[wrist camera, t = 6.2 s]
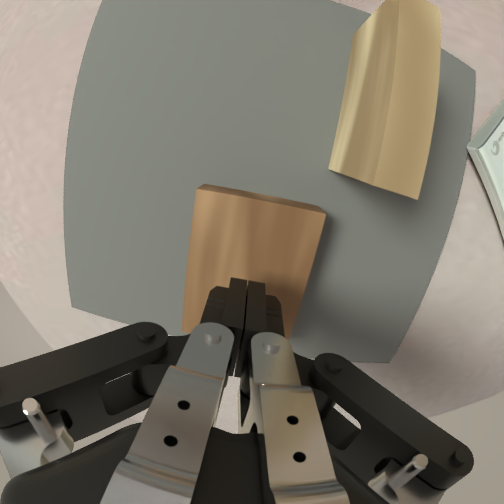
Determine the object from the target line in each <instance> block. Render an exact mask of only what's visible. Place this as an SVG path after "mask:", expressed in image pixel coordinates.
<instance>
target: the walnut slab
mask: <svg viewBox="0 0 504 504" xmlns="http://www.w3.org/2000/svg"><path fill="white" fill-rule="evenodd" d="M325 217H326V213H325V212H324V211H323V210H322V209H321V208H320V207H319V206H317V205H312V204H308V203H303V202H298V201H294V200H289V199H284V198H279V197H275V196H270V195H264V194H259V193H254V192H249V191H243V190H238V189H232V188H227V187H221V186H215V185H209V184H203V185H201V186H200V187H198V188H197V189H196V195H195V202H194V210H193V217H192V225H191V233H190V242H189V250H188V260H187V269H186V280H185V291H184V303H183V316H182V332H187V333H191V332H192V330H193V329H194V327H196V326H197V325H199V324H200V321H201V317H202V314H203V311H204V308H205V305H206V302H207V299H208V295H209V292H210V290H212V289H213V288H214V287H216V286H221V287H226V288H229V284H230V279H231V277H234V278H239V279H245V280H247V285H248V281H249V280H251V281H256V282H262V283H265V287H266V295H272V296H276V298H277V299H278V300H279V301H280V303H281V308H282V316H283V317H282V318H283V325H284V333H285V338H286V339H287V340H289V337H290V334H291V331H292V328H293V325H294V322H295V319H296V316H297V313H298V310H299V307H300V304H301V301H302V297H303V294H304V291H305V288H306V284H307V281H308V278H309V274H310V271H311V268H312V264H313V261H314V257H315V254H316V250H317V247H318V243H319V239H320V236H321V232H322V228H323V225H324V221H325Z"/></svg>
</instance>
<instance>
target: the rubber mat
mask: <svg viewBox="0 0 504 504" xmlns="http://www.w3.org/2000/svg"><path fill="white" fill-rule="evenodd" d="M370 16H371V14H369V13H366V12H364V11H361V10H358V9H355V8H352V7H349V6H346V5H343V4H340V3H336V2H333V1H330V0H102V2H101V5H100V7H99V10H98V13H97V15H96V18H95V21H94V23H93V26H92V29H91V32H90V35H89V38H88V42H87V45H86V48H85V52H84V55H83V59H82V63H81V67H80V71H79V75H78V79H77V83H76V88H75V93H74V98H73V104H72V109H71V116H70V122H69V129H68V138H67V147H66V158H65V172H64V240H65V255H66V266H67V276H68V284H69V292H70V298H71V305H72V307H74V308H77V309H80V310H83V311H86V312H89V313H92V314H95V315H98V316H102V317H105V318H108V319H112V320H115V321H119V322H122V323H126V324H129V325H132V324H135V323H138V322H153V323H156V324H158V325H160V326H162V327H163V328H164V329H165V330H166V332H167V334H169V335H173V336H183V335H188V334H190V333H187V332H182V316H183V303H184V291H185V280H186V269H187V260H188V250H189V242H190V233H191V225H192V217H193V210H194V202H195V195H196V189H197V188H198V187H200V186H201V185H203V184H209V185H215V186H221V187H227V188H232V189H238V190H243V191H249V192H254V193H259V194H264V195H270V196H275V197H279V198H284V199H289V200H294V201H298V202H303V203H308V204H312V205H317V206H319V207H320V208H321V209H322V210H323V211H324V212H325V213H326V217H325V221H324V225H323V228H322V232H321V236H320V239H319V243H318V247H317V250H316V254H315V257H314V261H313V264H312V268H311V271H310V274H309V278H308V281H307V284H306V288H305V291H304V294H303V297H302V301H301V304H300V307H299V310H298V313H297V316H296V319H295V322H294V325H293V328H292V331H291V334H290V337H289V340H288V341H289V342H290V344H291V346H292V349H293V352H295V353H296V354H298V355H300V356H303V357H306V358H316V357H317V356H318V355H320V354H322V353H334V354H338V355H340V356H342V357H344V358H345V359H347V360H348V361H353V362H374V363H389V362H390V361H391V359H392V357H393V355H394V354H395V352H396V350H397V348H398V347H399V345H400V343H401V341H402V339H403V337H404V335H405V334H406V332H407V330H408V328H409V326H410V324H411V322H412V320H413V318H414V316H415V314H416V311H417V309H418V307H419V305H420V303H421V301H422V299H423V296H424V294H425V292H426V289H427V287H428V285H429V282H430V280H431V278H432V275H433V273H434V270H435V268H436V265H437V262H438V260H439V257H440V254H441V251H442V249H443V246H444V243H445V240H446V237H447V234H448V231H449V228H450V224H451V221H452V218H453V214H454V211H455V207H456V204H457V200H458V196H459V192H460V188H461V184H462V179H463V175H464V170H465V165H466V160H467V154H468V150H467V145H468V143H469V142H470V135H471V128H472V120H473V110H474V97H475V70H474V69H472V68H471V67H469V66H468V65H466V64H465V63H464V62H462V61H461V60H459V59H458V58H456V57H454V56H453V55H451V54H450V53H448V52H446V51H445V50H443V49H441V55H440V74H439V87H438V97H437V105H436V113H435V120H434V127H433V133H432V139H431V144H430V149H429V154H428V159H427V164H426V169H425V173H424V177H423V182H422V186H421V190H420V193H419V197H418V200H416V199H413V198H410V197H408V196H405V195H402V194H399V193H396V192H392V191H389V190H386V189H383V188H380V187H376V186H373V185H371V184H368V183H365V182H363V181H360V180H357V179H355V178H352V177H349V176H346V175H344V174H341V173H338V172H335V171H332V170H329V169H328V168H329V164H330V159H331V155H332V150H333V145H334V141H335V136H336V131H337V126H338V121H339V116H340V111H341V105H342V100H343V95H344V89H345V83H346V77H347V71H348V65H349V59H350V52H351V46H352V39H353V34H354V33H355V32H356V31H357V30H358V29H359V28H360V27H361V26H362V24H363V23H364V22H365V21H366V20H367V19H368V18H369V17H370Z"/></svg>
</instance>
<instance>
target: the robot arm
mask: <svg viewBox="0 0 504 504" xmlns="http://www.w3.org/2000/svg"><path fill="white" fill-rule="evenodd" d="M282 317H283V316H282V308H281V303H280V301H279V300H278V299H277V298H276V296H272V295H266V287H265V283H262V282H256V281H251V280H249V281H248V285H247V280H245V279H239V278H234V277H231V279H230V284H229V288H226V287H221V286H216V287H214V288H213V289H212V290H210V292H209V295H208V299H207V302H206V305H205V308H204V311H203V314H202V317H201V321H200V324H199V325H197V326H196V327H194V329H193V330H192V332H191V333H190V334H188V335H183V336H168V334H167V332H166V330H165V329H164V328H163V327H162V326H160V325H158V324H156V323H153V322H138V323H135V324H132V325H129V326H126V327H123V328H120V329H117V330H115V331H112V332H109V333H106V334H103V335H100V336H97V337H94V338H91V339H88V340H85V341H82V342H79V343H76V344H73V345H70V346H67V347H64V348H61V349H58V350H55V351H52V352H49V353H46V354H43V355H40V356H37V357H33V358H30V359H27V360H24V361H21V362H17V363H14V364H11V365H7V366H4V367H0V453H1V456H2V458H3V461H4V463H5V466H6V468H7V471H8V473H9V475H10V478H11V480H10V481H9V482H8V483H7V484H6V486H5V487H4V489H3V492H2V495H1V500H0V504H438V503H439V501H440V499H441V498H442V496H443V494H444V492H445V491H446V490H447V489H448V488H450V487H451V486H452V485H454V484H455V483H456V482H458V481H459V480H460V479H462V478H463V477H464V476H466V475H467V474H468V473H469V472H470V471H471V470H472V467H473V465H474V458H473V455H472V452H471V451H470V449H469V448H468V447H467V446H466V445H464V444H463V443H462V442H460V441H459V440H457V439H456V438H454V437H453V436H451V435H450V434H448V433H447V432H446V431H444V430H443V429H441V428H440V427H438V426H437V425H436V424H434V423H433V422H431V421H430V420H428V419H427V418H426V417H424V416H423V415H421V414H420V413H419V412H417V411H416V410H414V409H413V408H412V407H410V406H409V405H408V404H406V403H405V402H403V401H402V400H401V399H399V398H398V397H396V396H395V395H394V394H392V393H391V392H390V391H388V390H387V389H386V388H384V387H383V386H382V385H380V384H379V383H377V382H376V381H375V380H373V379H372V378H371V377H369V376H368V375H367V374H365V373H364V372H363V371H361V370H360V369H359V368H357V367H356V366H355V365H353V364H352V363H351V362H349V361H348V360H347V359H345V358H344V357H342V356H340V355H338V354H334V353H322V354H320V355H318V356H317V357H316V358H315V360H311V359H308V358H306V357H303V356H300V355H298V354H296V353H295V352H293V349H292V346H291V344H290V342H289V341H288V340H287V339H286V338H285V333H284V325H283V318H282ZM235 363H236V366H235ZM234 368H235V375H234V377H240V378H241V380H240V386H239V390H238V434H232V433H229V432H226V431H223V430H221V429H218V428H215V424H216V420H217V416H218V412H219V408H220V404H221V400H222V395H223V391H224V388H225V387H226V385H227V381H228V376H233V372H234ZM128 373H129V374H128ZM125 374H127V375H125ZM123 375H125V376H123ZM121 376H122V377H121ZM118 377H120V378H118ZM116 378H118V379H116ZM114 379H115V380H114ZM111 380H113V381H111ZM109 381H111V382H109ZM107 382H108V383H107ZM105 383H106V384H105ZM336 403H337V404H338V405H339V406H341V407H342V408H343V409H344V410H345V411H347V412H348V413H349V414H350V415H351V416H353V417H354V418H355V419H356V420H357V421H358V422H359V423H360V425H361V429H359V428H357V427H356V426H355V425H354V424H352V423H351V422H350V421H349V420H348V419H346V418H345V417H344V416H343V415H342V414H340V413H339V412H338V411H337V410H336V409H334V408H333V407H334V405H335V404H336ZM147 408H149V409H148V411H147V413H146V415H145V417H144V419H143V422H142V423H136V424H132V425H129V426H126V427H124V428H121V429H119V430H118V431H116V432H114V433H112V434H110V435H108V436H106V437H104V438H102V439H100V440H98V441H96V442H94V443H92V444H90V445H88V446H85V447H83V448H81V449H79V450H77V451H75V452H73V453H72V450H73V447H74V442H76V441H78V440H81V439H83V438H85V437H88V436H90V435H92V434H95V433H97V432H99V431H101V430H103V429H106V428H108V427H110V426H112V425H114V424H116V423H119V422H121V421H123V420H125V419H127V418H129V417H131V416H133V415H135V414H137V413H139V412H141V411H143V410H145V409H147Z"/></svg>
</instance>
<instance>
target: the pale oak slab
mask: <svg viewBox="0 0 504 504" xmlns="http://www.w3.org/2000/svg"><path fill="white" fill-rule="evenodd" d="M440 55H441V18H440V8H439V7H437V6H435V5H433V4H432V3H430V2H428V1H426V0H386V1H385V2H384V3H383V4H382V5H381V6H380V7H379V8H378V9H377V10H376V11H375V12H374V13H373V14H372V15H371V16H370V17H369V18H368V19H367V20H366V21H365V22H364V23H363V24H362V26H361V27H360V28H359V29H358V30H357V31H356V32H355V33H354V34H353V39H352V46H351V52H350V59H349V65H348V71H347V77H346V83H345V89H344V95H343V100H342V105H341V111H340V116H339V121H338V126H337V131H336V136H335V141H334V145H333V150H332V155H331V159H330V164H329V168H328V169H329V170H332V171H335V172H338V173H341V174H344V175H346V176H349V177H352V178H355V179H357V180H360V181H363V182H365V183H368V184H371V185H373V186H376V187H380V188H383V189H386V190H389V191H392V192H396V193H399V194H402V195H405V196H408V197H410V198H413V199H416V200H418V197H419V193H420V190H421V186H422V182H423V177H424V173H425V169H426V164H427V159H428V154H429V149H430V144H431V139H432V133H433V127H434V120H435V113H436V105H437V97H438V87H439V74H440Z"/></svg>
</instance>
